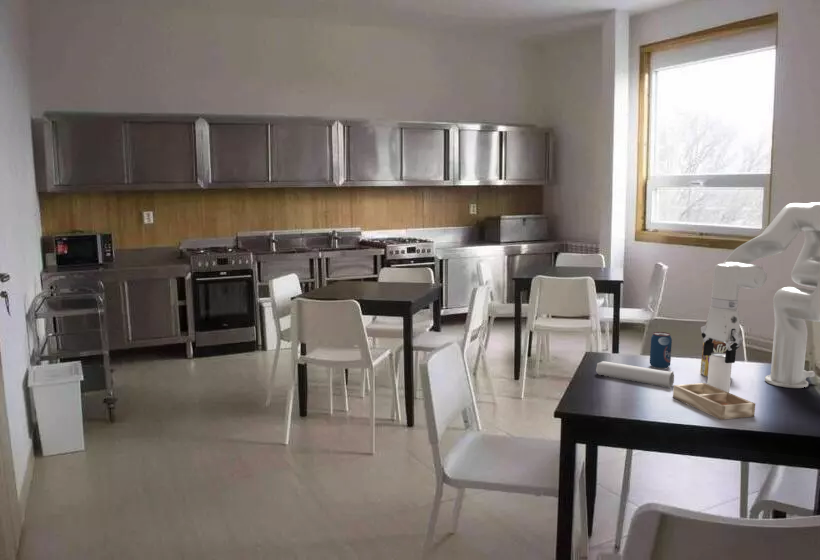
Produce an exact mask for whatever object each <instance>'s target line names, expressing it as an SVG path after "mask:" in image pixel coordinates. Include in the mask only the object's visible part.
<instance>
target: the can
mask: <svg viewBox="0 0 820 560" xmlns="http://www.w3.org/2000/svg"><path fill="white" fill-rule="evenodd" d="M725 355H726V353H720V352H714V353H711V356H710V358H709V367H708V376H707V382H706V384H709V385H711V386H713V387H716V388H718V389H721V390H723V391H726V392H728V393H730V389H731V378H732V377H731V376H732V366H733V365H732V364H733V363H725Z"/></svg>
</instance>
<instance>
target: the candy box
mask: <svg viewBox="0 0 820 560" xmlns="http://www.w3.org/2000/svg"><path fill="white" fill-rule="evenodd" d="M712 343H714V348H713V353H714V352H720V353H726V350H728V348H727V346H726V344H725V343H724V342H720V341H717V340H714V341H713V342H712ZM730 345H732V343H730ZM703 350H704V342H703V341H702V350H701V361H700V373H699V374H701V375H702V376H705V377H708V367H709V358H710V356H711V355H709V356H705V355H703Z"/></svg>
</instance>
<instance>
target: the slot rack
mask: <svg viewBox="0 0 820 560" xmlns="http://www.w3.org/2000/svg"><path fill="white" fill-rule="evenodd" d="M672 398H673V399H675V400H677V401H680V402H681V403H684V404H686V405H688V406H690V407H693V408H694V409H697V410H699V411H701V412H704V413H706V414H707V415H710V416H712V417H714V418H716V419H718V420H721V421H723V420H734V419H735V420H736V419H744V418H754V417H755V414H756V413H755V411H756V403H755V402H752V401H750V400H748V399H744V398H743V397H740V396H738V395H736V394H733V393H730V392H729V393H728V392H726V391H723V390H721V389H718V388H716V387H713V386H711V385H709V384H707V382H699V383H698V382H697V383H687V384H673V390H672Z"/></svg>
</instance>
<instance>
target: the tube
mask: <svg viewBox="0 0 820 560" xmlns="http://www.w3.org/2000/svg"><path fill="white" fill-rule="evenodd" d="M595 371H596V373H597V374H598V375H599V376H601V375H604V376H603V377H607V376H609V378H612V377H615V378H614V379H618V378H621V379H620V380H624V379H627V380H626V381H629V380H632V381H631V382H635V381H637V382H636V383H640V382H643V383H642V384H646V383H648V384H647V385H651V384H653V386H657V385H658V387H663V388H668V389H670V388H672V387H674V383H675V374H674V371H672V370H671V371H667V370H663V369H657V368H648V367H642V366H636V365H630V364H624V363H618V362H617V363H616V362H611V361H605V360H602V361H600V362H597V363H596V369H595Z"/></svg>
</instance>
